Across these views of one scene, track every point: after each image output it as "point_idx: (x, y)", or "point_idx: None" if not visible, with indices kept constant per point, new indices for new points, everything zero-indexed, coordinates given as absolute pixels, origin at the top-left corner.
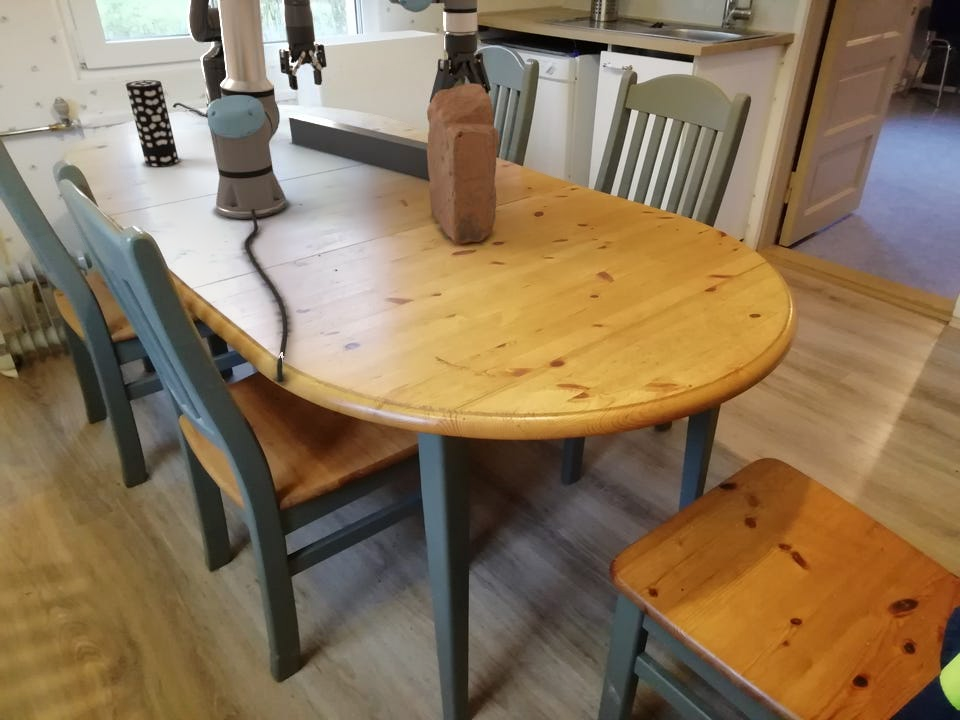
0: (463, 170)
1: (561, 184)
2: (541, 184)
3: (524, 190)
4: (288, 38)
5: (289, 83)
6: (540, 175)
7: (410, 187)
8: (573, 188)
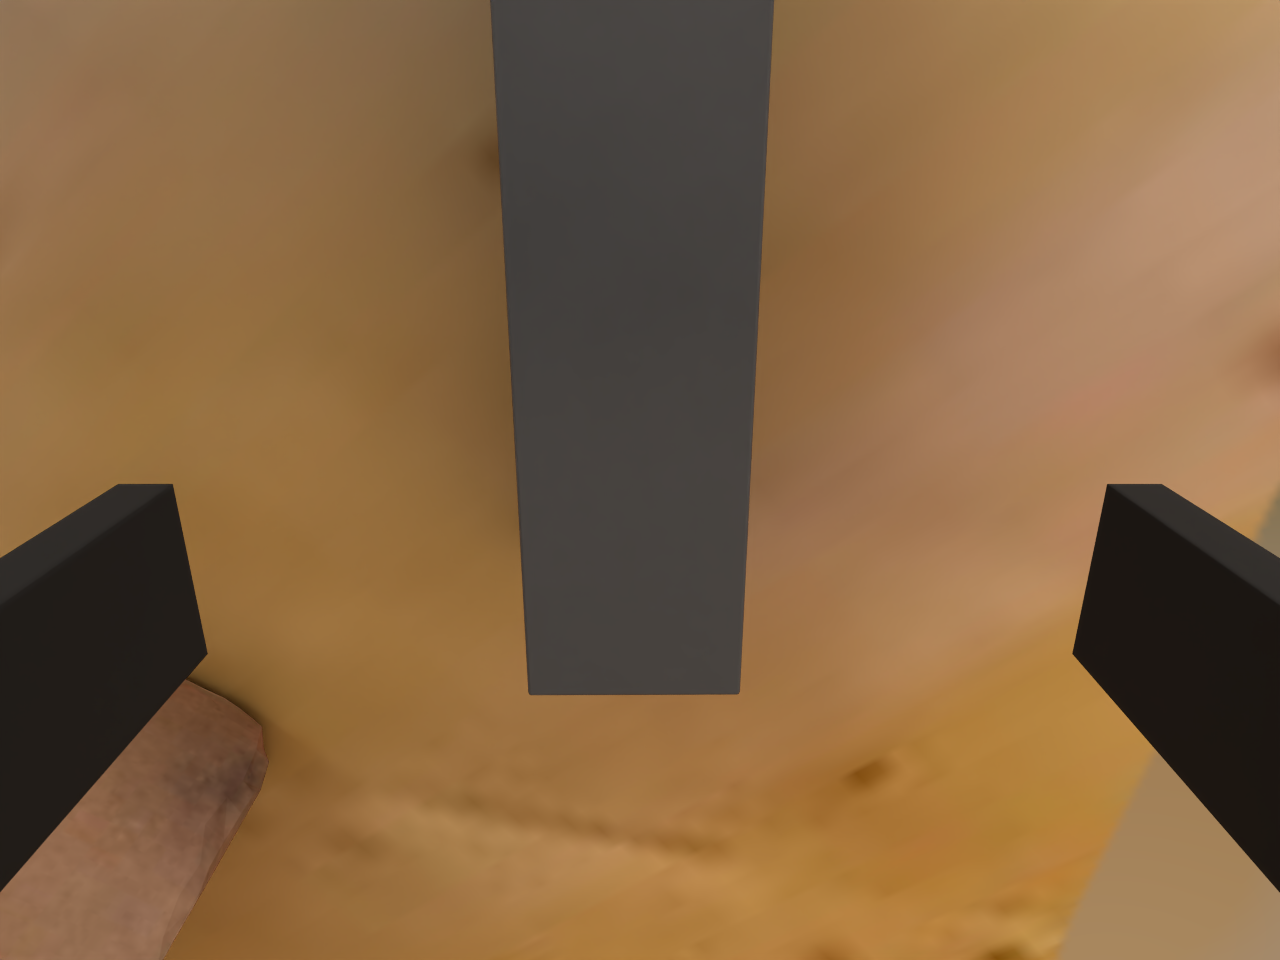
0: None
1: (1058, 874)
2: (988, 789)
3: (807, 772)
4: None
5: None
6: None
7: (244, 32)
8: (1021, 952)
